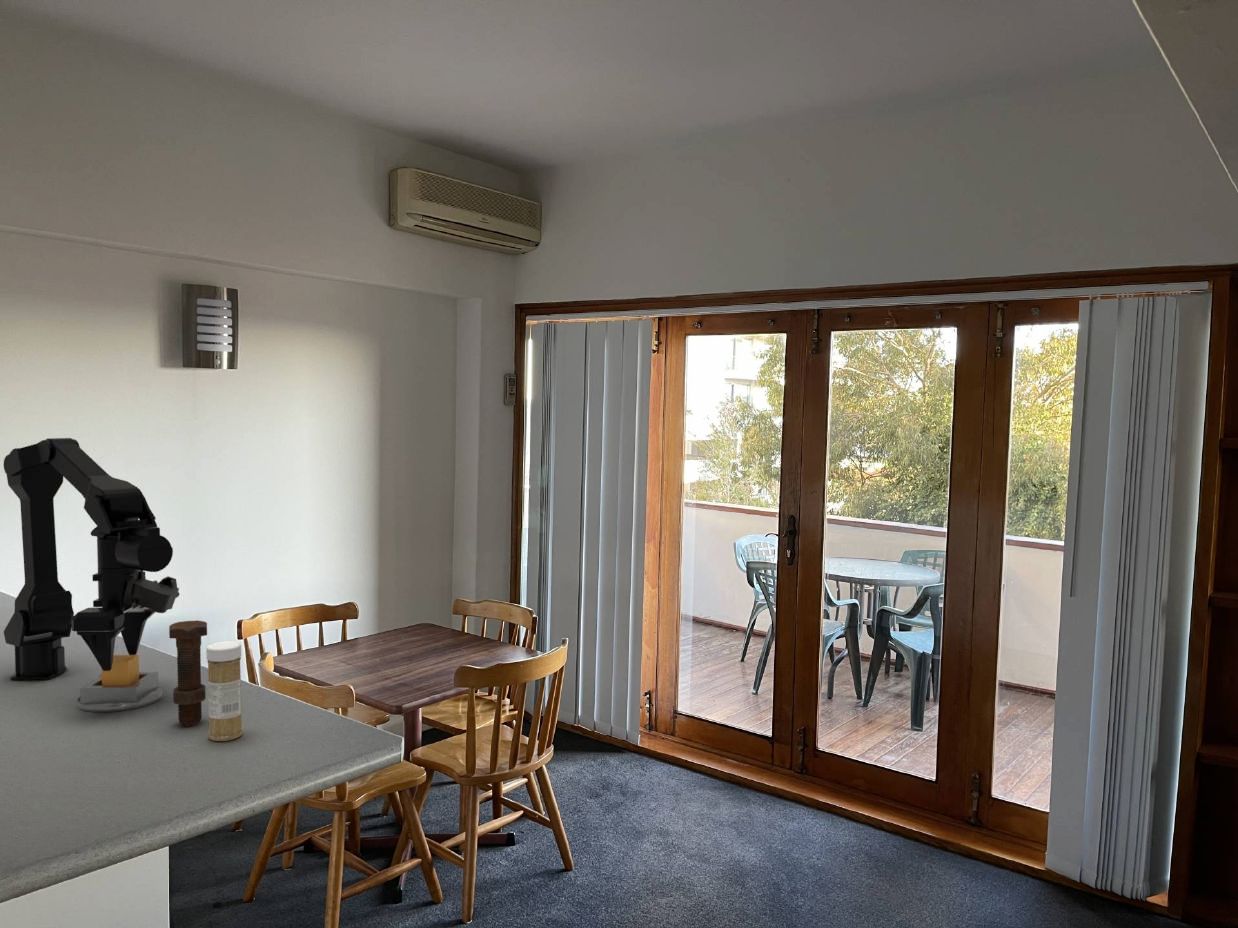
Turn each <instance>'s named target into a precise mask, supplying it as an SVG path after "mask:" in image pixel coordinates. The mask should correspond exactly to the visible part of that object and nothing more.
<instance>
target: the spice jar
mask: <svg viewBox="0 0 1238 928" xmlns="http://www.w3.org/2000/svg"><path fill="white" fill-rule="evenodd" d="M241 659H242V644H241V643H240V642H238V641H234V640H233V641H232V640H231V641H230V640H229V641H219V642H214V643H210V644H208V646H207V647H206V660H207V661H206V663H207V665H208V666H207V670H208V671H207V672H208V674H207V676H208V679H207V689H208V690H207V692H208V693H207V695H208V698H207V700H208V720H209V721H208V722H209V723H208V726H209V733H208V739H210V740H212V741H214V742H227V741H228V742H229V741H233V740H236V739H237V738H240V737H241V736H242V735H243V729H242V710H243V709H242V708H243V707H242V706H243V705H242V698H243V697H242V680H241V674H242V673H241Z"/></svg>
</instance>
